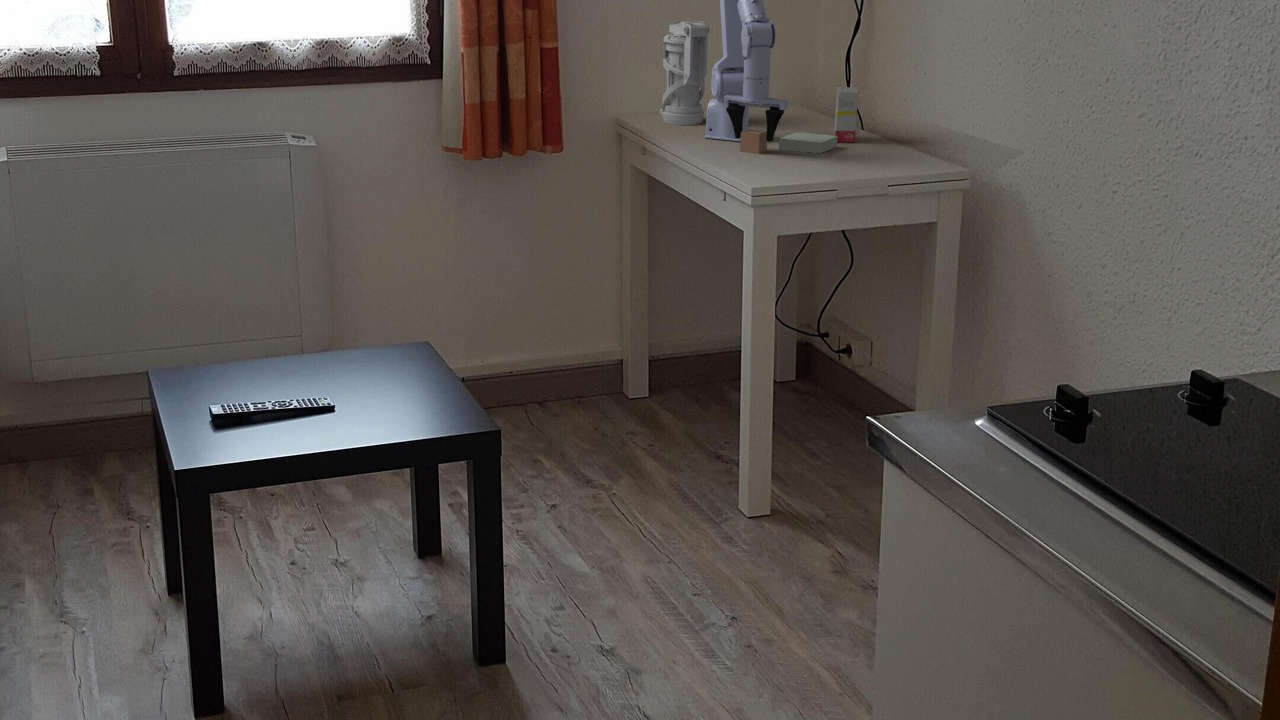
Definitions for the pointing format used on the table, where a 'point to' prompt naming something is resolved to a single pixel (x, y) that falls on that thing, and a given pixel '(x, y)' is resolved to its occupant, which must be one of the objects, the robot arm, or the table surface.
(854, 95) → the ink box
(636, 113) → the table surface
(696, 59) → the lantern
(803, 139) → the sage slab
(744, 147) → the terracotta cube
